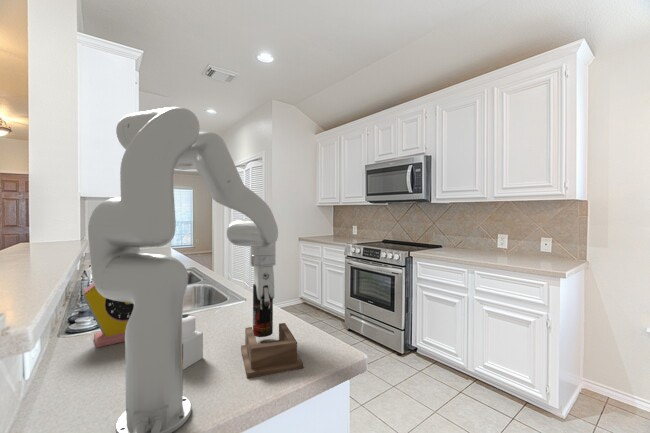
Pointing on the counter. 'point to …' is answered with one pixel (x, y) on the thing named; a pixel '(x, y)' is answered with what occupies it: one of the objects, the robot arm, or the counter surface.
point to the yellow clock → (108, 317)
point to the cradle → (270, 353)
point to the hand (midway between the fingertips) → (262, 318)
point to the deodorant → (258, 328)
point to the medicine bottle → (190, 342)
